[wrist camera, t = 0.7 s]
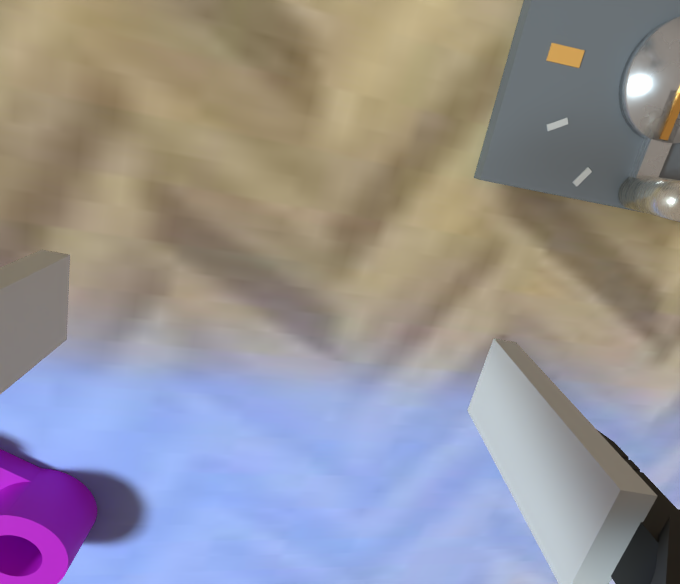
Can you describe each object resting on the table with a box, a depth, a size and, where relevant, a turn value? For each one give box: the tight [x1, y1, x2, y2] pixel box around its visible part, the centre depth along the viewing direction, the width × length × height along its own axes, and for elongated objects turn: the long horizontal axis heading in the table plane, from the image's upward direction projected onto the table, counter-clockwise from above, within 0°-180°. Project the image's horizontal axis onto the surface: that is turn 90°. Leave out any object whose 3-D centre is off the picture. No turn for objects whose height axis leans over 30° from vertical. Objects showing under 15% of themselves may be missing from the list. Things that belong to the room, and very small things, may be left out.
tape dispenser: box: [0, 449, 97, 584], centre depth 46 cm, size 16×10×6 cm, turn 54°
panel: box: [474, 0, 680, 213], centre depth 36 cm, size 20×21×2 cm
